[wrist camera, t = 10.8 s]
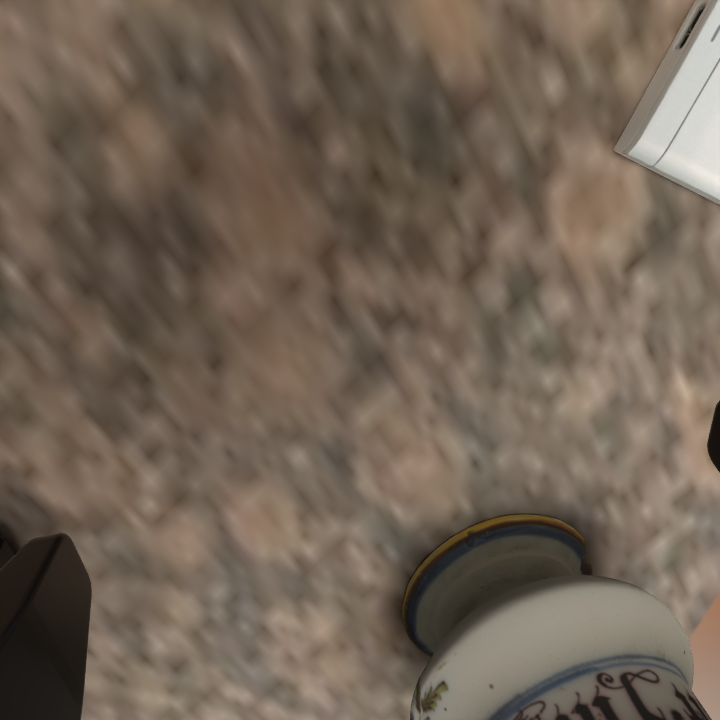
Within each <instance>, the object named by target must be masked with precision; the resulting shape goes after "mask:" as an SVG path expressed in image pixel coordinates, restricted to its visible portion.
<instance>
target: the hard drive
mask: <svg viewBox="0 0 720 720" xmlns="http://www.w3.org/2000/svg"><path fill="white" fill-rule="evenodd" d="M614 151H615V152H617V153H619V154H621V155H623V156H625V157H627V158H629V159H631V160H633V161H635V162H637V163H638V164H640V165H642V166H644V167H646V168H648V169H650V170H652V171H654V172H656V173H658V174H660V175H661V176H663V177H665V178H667V179H669V180H671V181H673V182H675V183H677V184H679V185H681V186H683V187H685V188H687V189H689V190H691V191H693V192H695V193H697V194H699V195H701V196H703V197H705V198H707V199H709V200H711V201H713V202H715V203H717V204H719V205H720V0H695V2H694V4H693V6H692V8H691V9H690V11H689V13H688V15H687V17H686V18H685V20H684V22H683V24H682V26H681V28H680V29H679V31H678V33H677V35H676V37H675V39H674V40H673V42H672V44H671V46H670V48H669V50H668V51H667V53H666V55H665V57H664V59H663V61H662V62H661V64H660V66H659V68H658V70H657V72H656V73H655V75H654V77H653V79H652V81H651V82H650V84H649V86H648V88H647V90H646V92H645V93H644V95H643V97H642V99H641V101H640V103H639V104H638V106H637V108H636V110H635V112H634V114H633V115H632V117H631V119H630V121H629V123H628V125H627V126H626V128H625V130H624V132H623V134H622V135H621V137H620V139H619V141H618V143H617V144H616V146H615V148H614Z"/></svg>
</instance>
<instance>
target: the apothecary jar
mask: <svg viewBox="0 0 720 720" xmlns="http://www.w3.org/2000/svg"><path fill="white" fill-rule="evenodd" d="M584 554H585V540H584V539H583V537H582V536H581V535H580V534H579V533H578V532H577V531H576V530H575V529H574V528H572V527H571V526H570V525H568V524H566V523H565V522H563V521H561V520H559V519H555V518H551V517H547V516H542V515H530V514H520V515H508V516H502V517H498V518H494V519H490V520H487V521H484V522H481V523H479V524H477V525H474V526H472V527H469V528H467V529H465V530H463V531H462V532H460V533H458V534H457V535H455V536H453V537H452V538H450V539H449V540H447V541H446V542H445V543H443V544H442V545H441V546H440V547H438V548H437V549H436V550H435V551H434V552H433V553H432V554H431V555H430V556H429V557H428V558H427V559H426V560H425V561H424V562H423V563H422V564H421V565H420V567H419V568H418V569H417V571H416V572H415V574H414V575H413V577H412V579H411V580H410V582H409V584H408V587H407V590H406V593H405V597H404V601H403V605H402V618H403V622H404V626H405V629H406V632H407V634H408V636H409V638H410V639H411V641H412V642H413V643H414V644H415V645H416V646H417V647H418V648H419V649H420V650H422V651H423V652H424V653H426V654H428V655H430V656H432V657H431V659H430V660H429V662H428V664H427V666H426V667H425V669H424V671H423V672H422V674H421V676H420V678H419V680H418V683H417V685H416V688H415V692H414V695H413V699H412V704H411V713H410V720H711V718H710V717H709V715H708V714H707V712H706V711H705V709H704V708H703V707H702V705H701V704H700V702H699V701H698V699H697V698H696V696H695V695H694V693H693V692H692V685H693V675H694V665H693V656H692V650H691V646H690V643H689V640H688V638H687V635H686V633H685V631H684V629H683V627H682V626H681V624H680V622H679V621H678V619H677V618H676V617H675V615H674V614H673V613H672V612H671V611H670V610H669V609H668V608H667V607H666V606H665V605H664V604H663V603H662V602H661V601H659V600H658V599H657V598H655V597H654V596H653V595H651V594H649V593H648V592H646V591H644V590H642V589H641V588H639V587H636V586H634V585H632V584H629V583H626V582H623V581H620V580H616V579H611V578H607V577H601V576H592V567H591V565H590V564H589V563H587V562H586V561H585V559H584V558H583V557H584Z"/></svg>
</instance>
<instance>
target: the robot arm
mask: <svg viewBox="0 0 720 720" xmlns="http://www.w3.org/2000/svg"><path fill="white" fill-rule="evenodd" d="M707 448H708V453H709V456H710V458H711V460H712V462H713V464H714V465H715V467H716V468H717V470H718V471H719V472H720V401H719V402H718V403H717V405H716V408H715V412H714V416H713V420H712V425H711V429H710V433H709V438H708V443H707ZM91 594H92V591H91V582H90V578H89V575H88V573H87V571H86V569H85V567H84V564H83V562H82V560H81V558H80V556H79V554H78V552H77V550H76V548H75V546H74V543H73V541H72V540H71V538H70V537H69V536H68V535H67V534H64V533H58V534H53V535H48V536H43V537H38V538H35V539H32V540H30V541H29V542H28V543H27V544H25V545H24V546H23V547H22V548H21V549H20V550H19V551H18V552H17V553H16V554H15V555H14V554H13V552H12V551H11V549H10V547H9V545H8V543H7V541H6V540H5V539H4V538H3V537H2V536H0V720H81V714H82V705H83V696H84V684H85V671H86V659H87V646H88V633H89V621H90V608H91Z"/></svg>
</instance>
